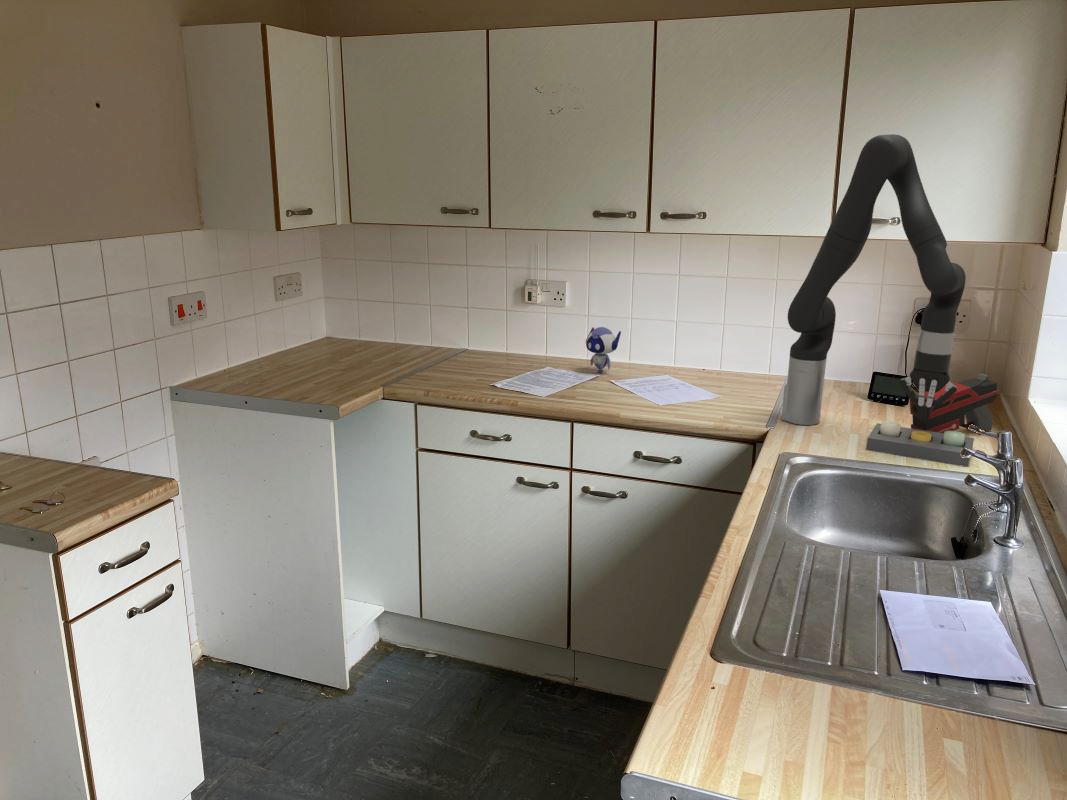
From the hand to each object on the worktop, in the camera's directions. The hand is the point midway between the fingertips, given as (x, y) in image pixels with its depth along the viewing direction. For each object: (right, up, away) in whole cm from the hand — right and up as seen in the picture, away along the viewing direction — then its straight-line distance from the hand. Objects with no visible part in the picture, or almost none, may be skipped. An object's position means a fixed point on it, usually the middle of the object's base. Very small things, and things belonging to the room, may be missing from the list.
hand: (922, 420), depth 202 cm
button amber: (0, -6, +1) cm, 7 cm away
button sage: (+6, -6, -2) cm, 9 cm away
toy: (-71, +13, +71) cm, 102 cm away
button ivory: (-6, -4, +5) cm, 9 cm away
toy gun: (+13, -4, +14) cm, 20 cm away
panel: (0, -7, +2) cm, 7 cm away
